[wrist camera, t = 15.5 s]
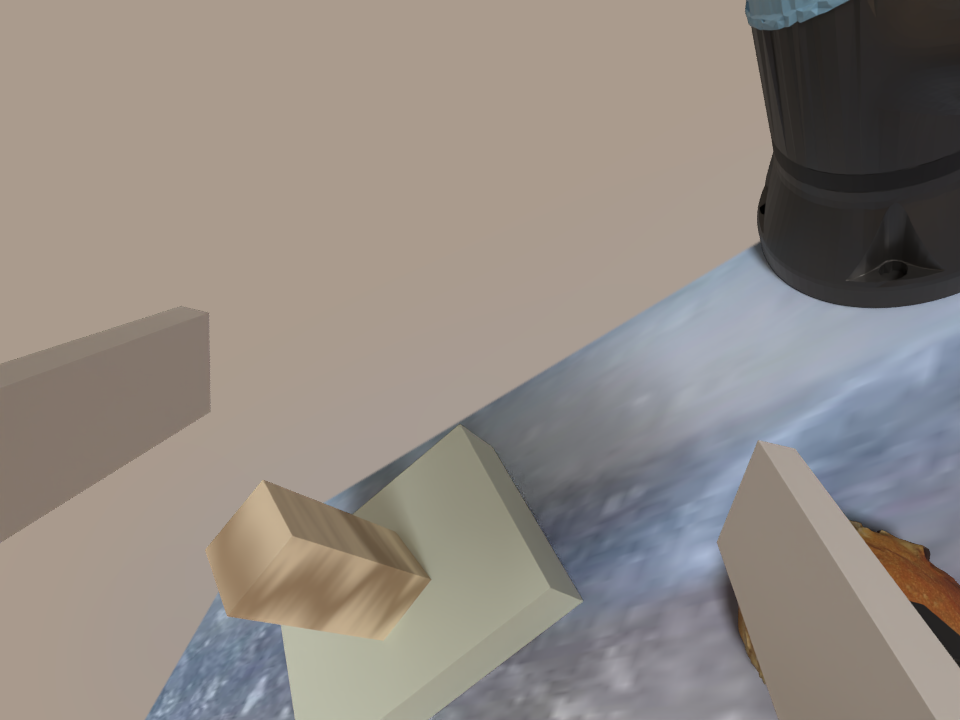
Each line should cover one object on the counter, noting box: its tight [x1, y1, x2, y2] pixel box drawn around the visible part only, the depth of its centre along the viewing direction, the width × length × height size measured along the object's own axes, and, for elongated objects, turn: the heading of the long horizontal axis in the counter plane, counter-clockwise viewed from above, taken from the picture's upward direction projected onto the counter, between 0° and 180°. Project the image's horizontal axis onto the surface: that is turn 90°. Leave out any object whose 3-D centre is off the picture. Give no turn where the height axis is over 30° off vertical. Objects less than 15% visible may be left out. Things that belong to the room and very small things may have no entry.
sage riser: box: [281, 424, 583, 720], centre depth 39 cm, size 20×14×5 cm
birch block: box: [205, 480, 431, 641], centre depth 33 cm, size 5×5×12 cm
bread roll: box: [738, 520, 960, 684], centre depth 25 cm, size 10×10×8 cm
